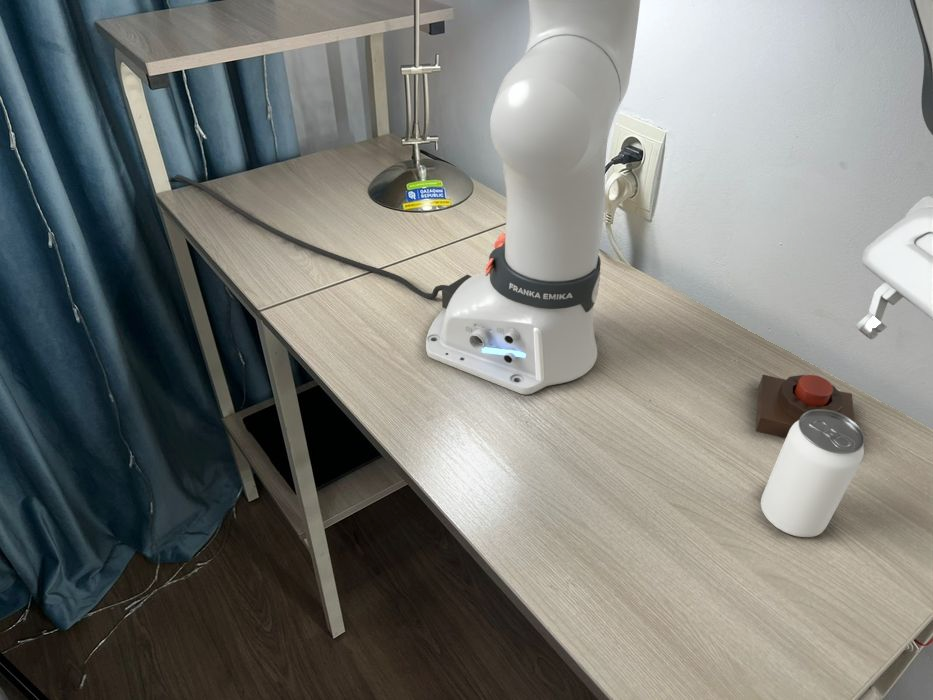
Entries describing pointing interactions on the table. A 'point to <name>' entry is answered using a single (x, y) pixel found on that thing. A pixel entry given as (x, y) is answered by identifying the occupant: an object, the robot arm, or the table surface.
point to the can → (812, 472)
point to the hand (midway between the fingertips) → (902, 367)
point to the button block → (791, 405)
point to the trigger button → (813, 390)
